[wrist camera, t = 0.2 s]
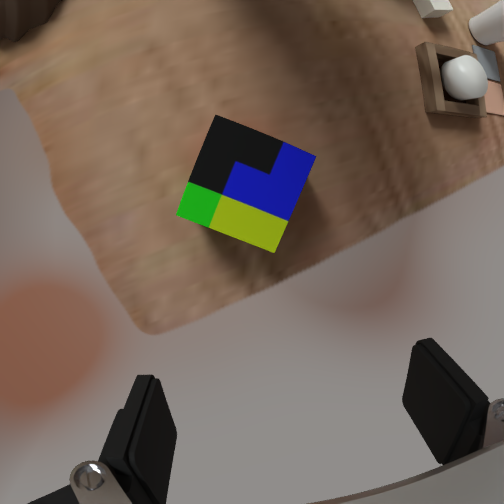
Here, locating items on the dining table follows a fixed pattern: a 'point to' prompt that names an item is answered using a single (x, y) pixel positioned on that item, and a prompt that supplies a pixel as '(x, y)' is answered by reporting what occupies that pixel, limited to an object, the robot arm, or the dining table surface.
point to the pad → (494, 99)
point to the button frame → (433, 85)
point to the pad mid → (487, 62)
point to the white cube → (432, 8)
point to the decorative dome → (23, 16)
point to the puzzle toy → (245, 183)
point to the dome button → (464, 78)
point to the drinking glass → (489, 24)
